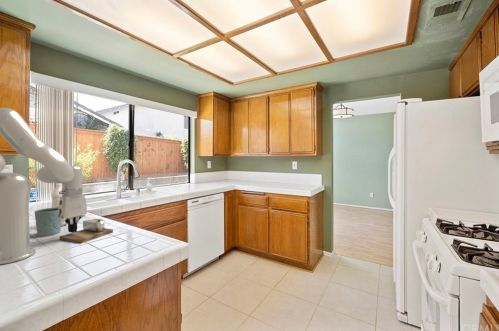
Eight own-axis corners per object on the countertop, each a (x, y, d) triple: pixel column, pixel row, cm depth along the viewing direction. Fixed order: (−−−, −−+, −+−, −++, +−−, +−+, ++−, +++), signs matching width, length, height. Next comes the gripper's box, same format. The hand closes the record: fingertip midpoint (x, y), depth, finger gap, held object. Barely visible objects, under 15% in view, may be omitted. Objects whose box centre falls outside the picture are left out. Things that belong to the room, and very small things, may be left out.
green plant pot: (29, 236, 107) (28, 211, 106) (53, 229, 117) (52, 206, 116) (46, 238, 104) (45, 212, 104) (68, 231, 114) (67, 207, 114)
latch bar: (106, 229, 110) (106, 218, 110) (99, 232, 107) (98, 220, 106) (89, 227, 114) (89, 216, 114) (82, 229, 111) (82, 218, 111)
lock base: (81, 243, 98) (80, 229, 97) (59, 239, 102) (59, 226, 102) (113, 232, 112) (112, 220, 112) (92, 229, 117) (92, 218, 116)
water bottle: (59, 227, 120) (58, 181, 119) (48, 227, 121) (47, 180, 120) (72, 223, 127) (71, 179, 126) (62, 223, 128) (60, 179, 127)
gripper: (59, 195, 96) (60, 237, 96) (93, 191, 110) (94, 228, 110) (48, 194, 98) (48, 236, 99) (83, 190, 113) (83, 226, 113)
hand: (72, 231), depth 105 cm, fingers closed
